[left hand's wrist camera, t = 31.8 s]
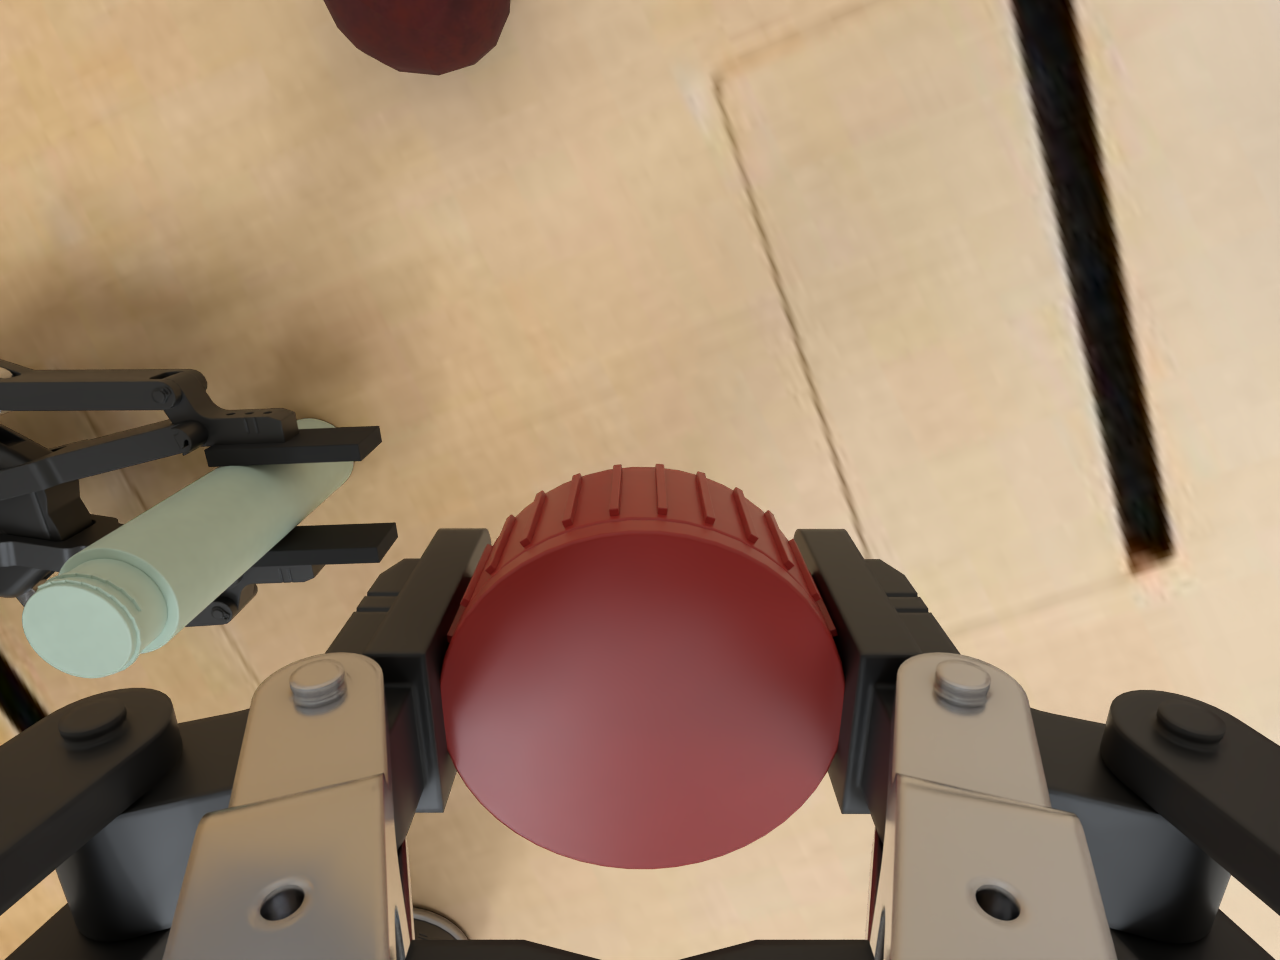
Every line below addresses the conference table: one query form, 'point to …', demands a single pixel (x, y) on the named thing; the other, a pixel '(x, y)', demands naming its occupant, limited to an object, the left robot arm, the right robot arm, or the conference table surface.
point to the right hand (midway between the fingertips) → (378, 493)
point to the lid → (642, 672)
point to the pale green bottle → (170, 563)
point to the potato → (422, 31)
